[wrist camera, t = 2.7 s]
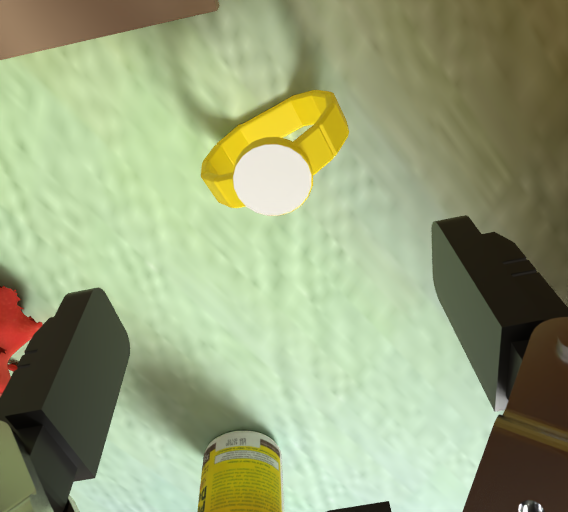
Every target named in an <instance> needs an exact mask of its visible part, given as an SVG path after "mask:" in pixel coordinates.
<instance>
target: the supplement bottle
mask: <svg viewBox="0 0 568 512" xmlns="http://www.w3.org/2000/svg"><path fill="white" fill-rule="evenodd" d="M198 512H284V499H283V476H282V457H281V451H280V449H279V447H278V445H277V444H276V443H275V442H274V441H273V440H272V439H271V438H269V437H268V436H266V435H264V434H261V433H258V432H254V431H233V432H229V433H226V434H223V435H221V436H219V437H217V438H215V439H214V440H213V441H212V442H211V443H210V444H209V445H208V446H207V448H206V450H205V453H204V458H203V466H202V475H201V485H200V494H199V503H198Z"/></svg>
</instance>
